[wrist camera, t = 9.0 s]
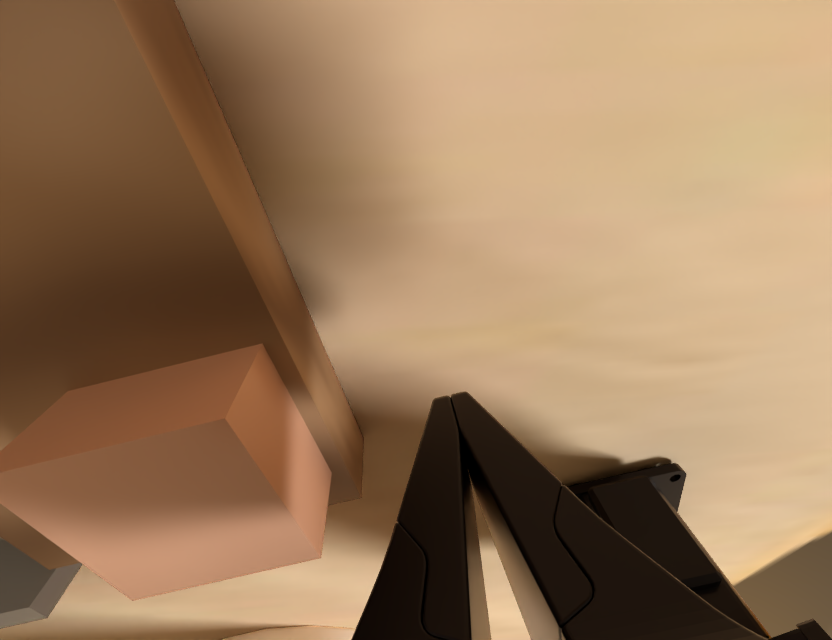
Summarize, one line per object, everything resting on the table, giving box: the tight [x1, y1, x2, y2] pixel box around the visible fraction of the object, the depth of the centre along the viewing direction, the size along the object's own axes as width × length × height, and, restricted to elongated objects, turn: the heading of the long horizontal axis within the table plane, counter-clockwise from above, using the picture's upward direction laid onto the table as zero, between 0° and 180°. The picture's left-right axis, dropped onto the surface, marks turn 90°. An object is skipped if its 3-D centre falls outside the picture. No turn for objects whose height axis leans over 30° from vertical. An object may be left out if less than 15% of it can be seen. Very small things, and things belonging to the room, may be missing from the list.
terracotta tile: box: [0, 343, 332, 601], centre depth 9 cm, size 5×5×2 cm
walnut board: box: [0, 0, 364, 570], centre depth 9 cm, size 15×11×2 cm
